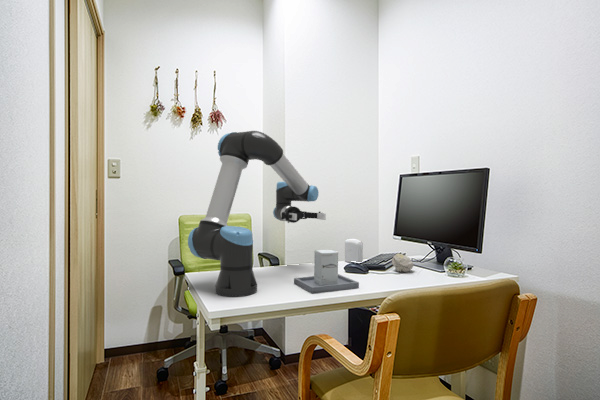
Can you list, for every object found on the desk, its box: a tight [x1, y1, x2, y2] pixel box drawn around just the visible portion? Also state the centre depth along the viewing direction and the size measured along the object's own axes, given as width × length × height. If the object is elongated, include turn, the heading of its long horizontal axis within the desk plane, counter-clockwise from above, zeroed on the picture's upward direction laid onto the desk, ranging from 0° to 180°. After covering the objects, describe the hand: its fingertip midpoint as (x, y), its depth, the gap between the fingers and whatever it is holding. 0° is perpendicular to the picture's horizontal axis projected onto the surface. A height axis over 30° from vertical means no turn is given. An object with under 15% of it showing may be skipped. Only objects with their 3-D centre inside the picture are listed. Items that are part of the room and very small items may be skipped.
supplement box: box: [313, 249, 339, 286], centre depth 147 cm, size 7×7×13 cm
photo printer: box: [344, 238, 364, 263], centre depth 195 cm, size 10×4×12 cm, turn 39°
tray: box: [293, 273, 360, 295], centre depth 147 cm, size 20×16×2 cm
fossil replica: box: [391, 253, 415, 273], centre depth 176 cm, size 12×8×10 cm
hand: (310, 216), depth 160 cm, fingers open, 13 cm apart
